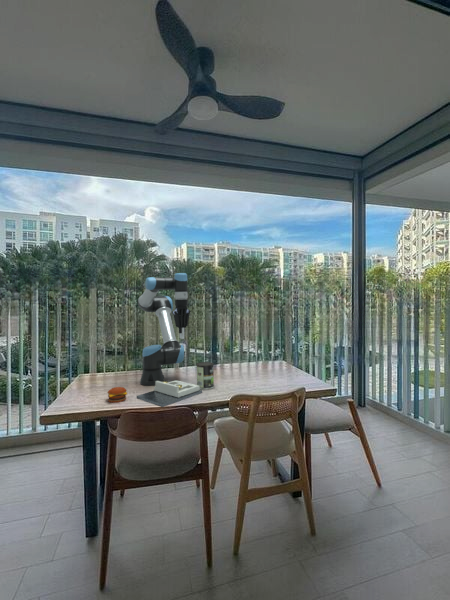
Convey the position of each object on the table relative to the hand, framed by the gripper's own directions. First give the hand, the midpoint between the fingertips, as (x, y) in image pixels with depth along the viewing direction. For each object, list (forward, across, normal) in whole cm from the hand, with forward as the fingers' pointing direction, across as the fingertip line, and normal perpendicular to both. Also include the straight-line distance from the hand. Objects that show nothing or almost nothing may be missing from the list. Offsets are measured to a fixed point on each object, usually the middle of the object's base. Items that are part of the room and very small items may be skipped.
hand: (182, 338), depth 182 cm
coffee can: (+30, +9, -10) cm, 33 cm away
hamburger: (+30, -36, +12) cm, 48 cm away
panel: (+28, -9, -5) cm, 30 cm away
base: (+29, -14, -5) cm, 33 cm away
